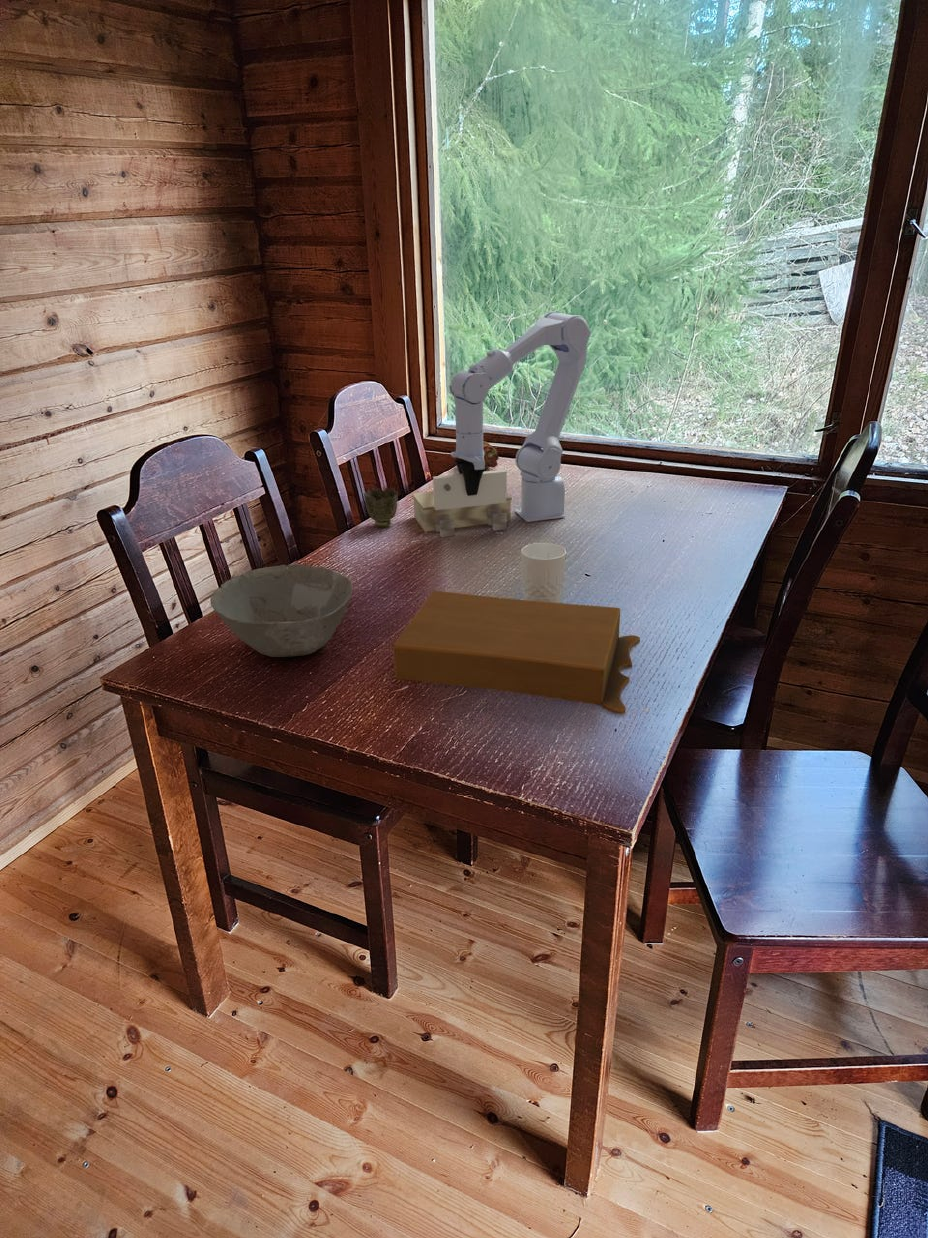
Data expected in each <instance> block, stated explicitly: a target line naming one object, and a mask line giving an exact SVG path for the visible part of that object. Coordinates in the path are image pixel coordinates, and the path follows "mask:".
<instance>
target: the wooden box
mask: <svg viewBox="0 0 928 1238" xmlns="http://www.w3.org/2000/svg"><path fill="white" fill-rule="evenodd" d="M620 622H621V608H620V607H616V606H615V607H614V606H600V605H589V604H588V605H586V604H576V603H575V604H573V603H562V602H561V603H553V602H541V601H529V600H524V599H517V598H508V597H499V596H489V595H478V594H470V593H462V592H451V591H443V590H434V589H433V591H432V592H431V593H430V594H429V596H428V597H427V599H426V600H425V601H424V602H423V604H422V605H421V606H420V608H419V609H418V611H417V612H416V613H415V615H414V616H413V617H412V619H411V620H410V621H409V623H408V624H407V625H406V627H405V628H404V630H402V632H401V633H400V635H399V636H398V638H397V639H396V640H395V642H393V644H392V652H393V653H392V654H393V655H392V656H393V667H394V678H395V679H398V680H408V681H415V682H423V683H432V684H433V683H434V684H435V683H436V684H441V685H442V684H444V685H451V686H452V685H453V686H459V687H460V686H461V687H470V688H475V689H476V688H479V689H484V690H485V689H486V690H494V691H501V692H508V693H514V694H515V693H517V694H523V695H531V696H537V697H544V698H551V699H557V700H558V699H559V700H562V701H563V700H565V701H571V702H572V701H573V702H578V703H584V704H591V705H596V706H597V705H598V706H601V707H603V708H604V709H606V710H607V711H608V712H611V713H614V714H617V715H619V714H620V715H622V714H625V713H626V710H627V709H626V706H625V704H624V702H623V701H622V698H621V695H622V694H621V693H622V690H624V687H626V685H627V684H628V683H629V681H630V676H627V675H624V674H622V673H621V670H622V669H625V668H632V667H633V661H632V659H631V655H630V654H631V653H630V652H631V650H632V648H633V647H634V646H635V645H637V644H638V643H639V642H640V640H641V637H640V636H638V635H633V634H630V635H624V636H623V635H622V636H620V626H621V625H620V624H621V623H620Z"/></svg>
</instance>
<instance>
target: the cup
mask: <svg viewBox="0 0 928 1238" xmlns="http://www.w3.org/2000/svg"><path fill="white" fill-rule="evenodd" d="M398 494H399V492H398V491H397V489H396V490H395V489H394V488H393V487H390V488H389V487H386V488H385V489H384V490H381V488H380V487H377V488H376V487H373V488H371V490H370V489H367V491H366V490H365V491H364V493H363V495H364V500H365V505H366V506H365V507H366V510H367V513H368V516H369V517H370V518H371V520H373V521H374V525H375V526H376V528H379V529H380V528H381V529H384V528H388V527H390V526H391V524H392V521H391V520H392V519H393V518H395V516H396V514H397V511H398V510H397V509H398Z"/></svg>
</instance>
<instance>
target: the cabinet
mask: <svg viewBox="0 0 928 1238" xmlns="http://www.w3.org/2000/svg"><path fill="white" fill-rule="evenodd" d="M411 495H412V499H413V515H414V516H413V517H414V519H415V520H416V521H417V523H418V524H419V526H420V527H421V528H422V530H423V531H424V532H425V533H426V532H432V531H433V532H434V531H435V532H436V533H437V532H439V536H440V538H449V537H455V529H458V528H465V527H467V528H468V527H473V526H474V527H475V526H484V525H488V526H492V531H493V532H496V531H503V530H507V528H508V526H507V525H508V522H511V516H512V515H511V514H512V513H511V508H512V507H511V505H512V503H511V502H512V500H513V499H512V496H511V495H509V493H507V497H506V503H498V504H489V505H480V506H471V507H462V508H452V509H443V510H435V508H434V490H433V491H426V492H416V493H412V494H411Z"/></svg>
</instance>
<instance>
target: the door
mask: <svg viewBox="0 0 928 1238" xmlns="http://www.w3.org/2000/svg"><path fill="white" fill-rule="evenodd" d="M507 474H508V472H507V471H506V470H505V469H498V470H496V469H495V470H488V471H485V472H483V474H482V477H481V480H480V484H479V488H478V493H477V495H471V496H468V495H467V493H466V488H465V481H464V477H463V474H460V473H458V474H457V473H456V474H447V475H437V476H433V477H432V480H433V482H432V483H433V485H432V486H433V487H432V488H433V491H434V508H435V510H443V509H452V508H462V507H471V506H480V505H489V504H498V503H506V497H507V494H508V493H507V490H508V487H507V481H508V479H507V478H508V476H507Z"/></svg>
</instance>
